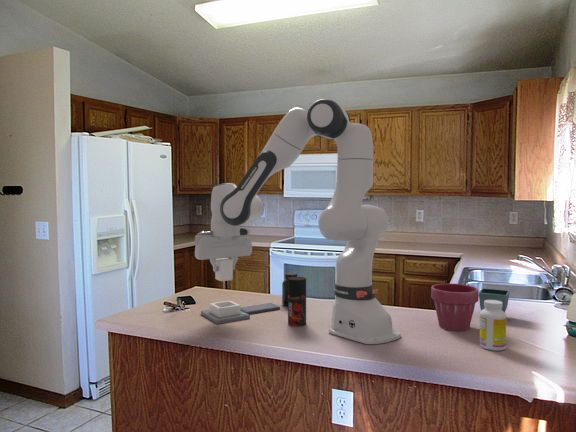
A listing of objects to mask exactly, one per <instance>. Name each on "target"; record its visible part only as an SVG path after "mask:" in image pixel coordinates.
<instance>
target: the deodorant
mask: <svg viewBox="0 0 576 432" xmlns="http://www.w3.org/2000/svg"><path fill="white" fill-rule="evenodd" d="M287 324H288V326H290V327H304V326H306V325H307V278H306V277H305V276H298V277H289V278H288V306H287Z"/></svg>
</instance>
